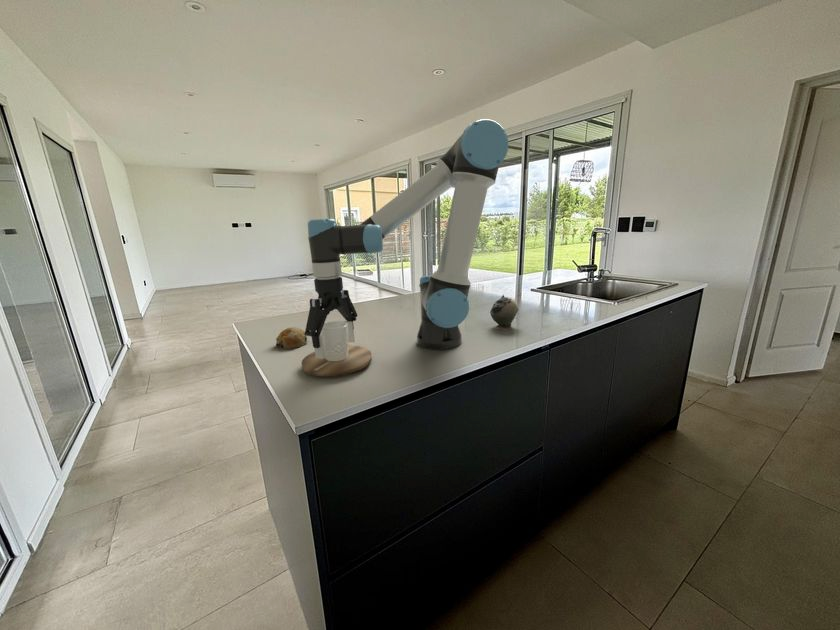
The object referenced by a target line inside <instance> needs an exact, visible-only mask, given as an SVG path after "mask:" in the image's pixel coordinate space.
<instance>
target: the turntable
mask: <svg viewBox="0 0 840 630" xmlns="http://www.w3.org/2000/svg"><path fill="white" fill-rule="evenodd" d="M348 345H349V347H348V352H349V356H348V357H347V358H346V359H344V360H341V361H328V360H326V359H325V358H324V359H321V358H316V356H315V351H313V352H311V353H309V354H307V355H306V356H304V358H302V360H301V367H302V371H304V372H305V373H306V374H308V375H311V376H314V377H315V376H316V377H337V376H344V375H349V374H352V373H355V372H358V371H359V370H362V369H364V368H365V367H367V366H368V365H370V363H371V362H372V360H373V357H372V351H371V350H369V349H368V348H366V347H364V346H360V345H351V344H348Z"/></svg>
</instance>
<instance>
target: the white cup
mask: <svg viewBox="0 0 840 630" xmlns="http://www.w3.org/2000/svg"><path fill="white" fill-rule="evenodd" d="M344 321H345V320H343V321H342V320H333V321H327V322H326V321H325V323H324V325H323V328H322V331H321V333H320V335H322V336H323V344H324V351H325V359H326V360H328V361H341V360H344V359H346V358H347V357H348V356H349V352H348V347H349V345H350V342H349V341H348V324H347V322H344Z"/></svg>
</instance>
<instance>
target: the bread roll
mask: <svg viewBox="0 0 840 630" xmlns="http://www.w3.org/2000/svg"><path fill="white" fill-rule="evenodd" d="M275 338H276V339H275V340H276V343H275V346H276V347H279V349H285V350H287V349H289V350H290V349H296V348H300V347H303V346H305V345H307V344H308V336H306V335H305V331H304V330H303V329H302V328H299V327H296V326H295V327H288V328H286V329H283V330H282V331H281V332H280V333H279V334H278V335H277V337H275Z"/></svg>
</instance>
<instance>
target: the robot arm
mask: <svg viewBox="0 0 840 630" xmlns="http://www.w3.org/2000/svg"><path fill="white" fill-rule="evenodd" d="M509 146H510V145H509V137H508V135H507V133H506V131H505V129H504V128H503V126H502V125H501V124H500V123H498V122H497V121H495V120H492V119H489V118H483V119H478V120H475V121H474V122H472V123H470V124H469V125H468V126H466V128H465V129H464V130H463V133H462V134H461V135H460V136H459V137H458V139H456V141H455V142H454V143H453V144H452V145H451V147H450V148H449V149H448V150H447V152H445V153H444V154H443V155H442V156H440V158H438V159H437V160H436V165H435V166H434V167H432V168H431V169H429V170H428V171H427V172H426V173H425V174H423V175H422V176H421V177H419V178H418V179H417V180H416V181H414V182H413V183H412V184H411V185H409V186H408V187H406V188H405V189H404V190H402V192H400V193H399V194H398V195H396V196H395V197H393V198H392V199H391V200H390V201H388V202H387V203H386V204H385V205H383V206H382V207H381V208H380V209H378V210H376V212H374V213H373V214H372V215H370V216H368V218H366V219H365V220H364V221H362V222H361V223H360V224H356V225H355V224H354V225H344V226H343V225H338V223H337V221H336V219H334V218H320V219H310V220H309V221H308V222H307V232H308V233H307V235H308V237H307V238H308V243H309V250H310V256H311V263H312V264H311V265H312V273H313V277H314V280H313V281H314V290H315V292H316V293H317V294H318V296H317V297H318V298H310V299H309V312H308V315H307V321H306V325H305V331H304V332H305V335H306V336H307V337H311V340H312V341H311V342H312V343H311V344H312V347H313V348H314V352H315V356H316V358H321V359H324V358H325V351H324V344H323V336H322V335H321V334H320V333H321V331H322V328H323V325H324V323H326V319H327V318H328V315H329V314H331V312H333V311H334V310H337V312H339V313H340V315H341V316H342V317H343V318H344V320H343V321H344V322H347V324H348V341H349V343H355V331H354V330H355V326H354V322H356V321H357V317H358V312H357V311H356V308H355V306H354V304H353V302H352V299H351V298H350V294H349V290H348V289H344V285H343V283H344V282H343V278H342V276H341V275H342V273H343V272H342V263H341V257H340V256H341V255H356V254H357V255H358V254H359V255H360V254H370V255H372V254H376V253H382V252H383V251H384V250H383V249H384V244H383V240H384V239H385V238H386V237H387V236H389V235H390V234H392V233H393V232H394V231H396V230H397V229H398V228H399V227H400V226H403V224H404V223H406V222H407V221H409V220H410V219H411V218H412V217H413V216H415V215H416V214H418V213H419V212H420V211H422V210H423V209H425V208H426V207H427V206H428V205H429V204H431V203H432V202H434V201H435V200H436V199H438V198H439V197H441V196H442V194H444V193H445V192H447V191H448V190H450V189H451V188H453V189H454V191H453V196H452V200H451V204H450V205H451V206H450V210H449V215H448V218H447V225H446V228H445V232H444V238H443V242H442V247H441V250H440V251H441V252H440V255H439V256H440V257H439V262H438V265H437V270H436V271H434V272H433V273H432V274H430V275H423V276H421V277H420V279H419V285H418V286H419V289H420V290H419V292H420V293H419V295H420V314H421V317H420V319H421V321H420V325H419V328H418V332H417V335H416V343H417V345H418V346H419V347H421V348H423V349H428V350H437V351H438V350H447V349H452V348H456V347H458V346H460V345H461V344H462V341H463V339H462V333H461V330H460V327H459V325H460V324H462V323H463V322H464V321H465V319H466V318H467V316H468V314H469V312H470V302H469V299H468V298H469V297H468V296H469V293H470V288H471V284H472V282H471V281H470V280H469V278H468V273H469V269H470V265H471V261H472V256H473V253H474V248H475V243H476V239H477V235H478V231H479V226H480V223H481V218H482V216H483V215H482V213H483V210H484V205H485V202H486V197H487V194H488V189H489V188H490V187H492V186H493V185H495V184H496V181H497V180H496V179H497V175H498V171H499V168H500V165H501V164H503V162H504V161H505V159H506V157H507V154H508V152H509V151H508V150H509Z"/></svg>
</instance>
